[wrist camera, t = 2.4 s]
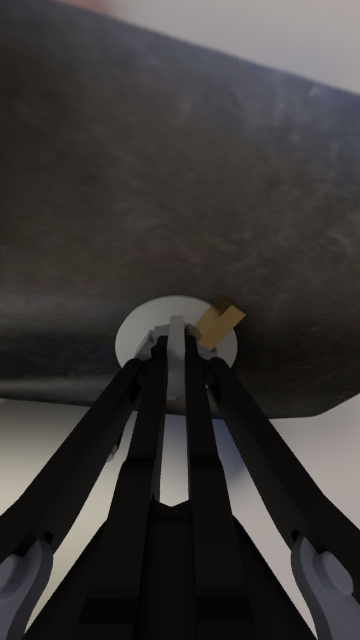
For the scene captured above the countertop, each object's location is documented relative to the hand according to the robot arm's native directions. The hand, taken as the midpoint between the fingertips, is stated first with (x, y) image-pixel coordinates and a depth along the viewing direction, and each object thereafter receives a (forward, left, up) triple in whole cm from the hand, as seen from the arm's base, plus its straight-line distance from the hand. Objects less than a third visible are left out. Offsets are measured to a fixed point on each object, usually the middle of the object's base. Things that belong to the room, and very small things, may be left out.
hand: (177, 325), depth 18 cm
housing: (+5, -8, -7) cm, 11 cm away
